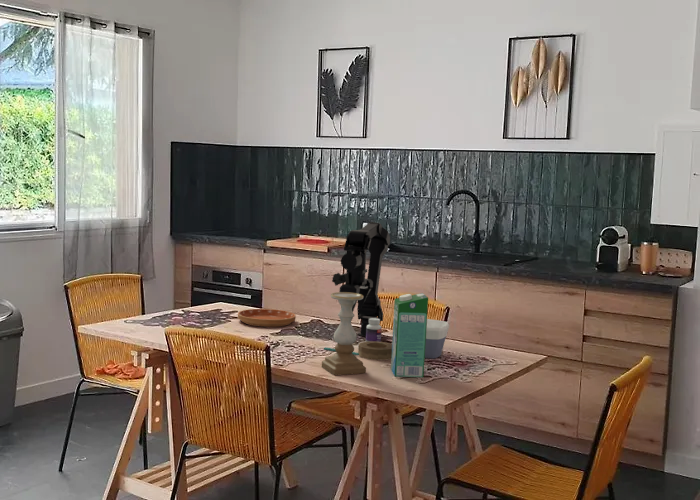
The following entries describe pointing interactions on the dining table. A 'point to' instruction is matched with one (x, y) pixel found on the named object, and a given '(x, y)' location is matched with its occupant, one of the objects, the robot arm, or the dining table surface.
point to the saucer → (266, 317)
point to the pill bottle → (373, 330)
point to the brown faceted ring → (375, 350)
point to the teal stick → (335, 351)
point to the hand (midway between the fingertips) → (355, 310)
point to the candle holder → (344, 339)
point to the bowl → (435, 337)
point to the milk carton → (409, 335)
